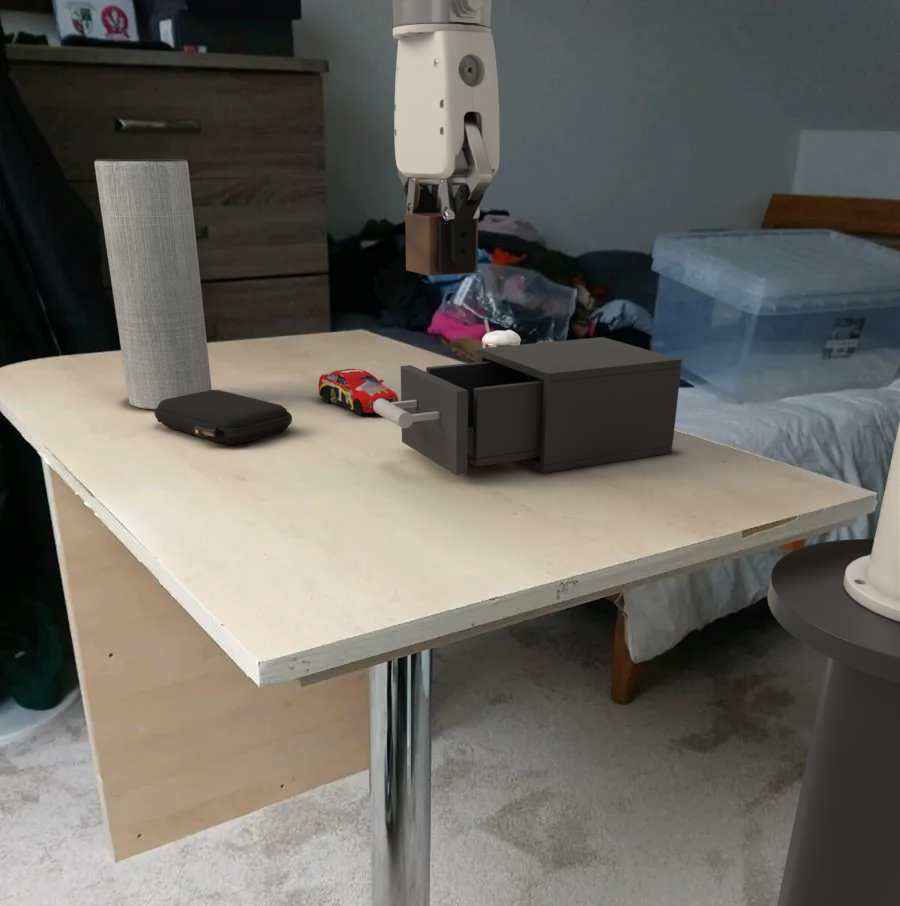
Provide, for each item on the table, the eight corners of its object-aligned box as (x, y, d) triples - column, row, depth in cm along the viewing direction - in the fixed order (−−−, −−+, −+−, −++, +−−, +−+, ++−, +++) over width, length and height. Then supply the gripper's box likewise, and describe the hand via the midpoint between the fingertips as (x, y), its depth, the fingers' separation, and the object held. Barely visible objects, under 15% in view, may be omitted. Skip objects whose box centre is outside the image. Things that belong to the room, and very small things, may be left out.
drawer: (413, 482, 86) (412, 396, 82) (362, 447, 96) (359, 369, 92) (586, 455, 93) (591, 376, 90) (522, 426, 103) (525, 353, 100)
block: (477, 273, 78) (478, 214, 76) (429, 276, 76) (429, 216, 74) (452, 267, 82) (452, 212, 80) (405, 270, 80) (404, 213, 78)
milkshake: (498, 400, 118) (500, 317, 113) (525, 408, 114) (529, 323, 110) (469, 405, 115) (470, 321, 111) (496, 414, 111) (499, 327, 107)
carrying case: (139, 428, 105) (222, 453, 96) (136, 401, 104) (219, 424, 95) (217, 410, 112) (301, 432, 104) (214, 384, 111) (299, 404, 102)
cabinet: (543, 473, 91) (548, 373, 87) (477, 438, 102) (478, 348, 98) (671, 453, 97) (682, 359, 93) (596, 422, 108) (602, 337, 104)
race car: (406, 414, 111) (405, 380, 110) (366, 420, 109) (365, 386, 107) (351, 391, 121) (350, 360, 119) (313, 397, 118) (311, 365, 117)
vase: (223, 404, 115) (198, 160, 103) (139, 414, 110) (103, 160, 99) (199, 388, 123) (174, 159, 111) (121, 397, 118) (85, 159, 106)
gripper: (544, 5, 66) (533, 278, 74) (435, 29, 80) (435, 258, 87) (450, -3, 63) (449, 283, 71) (353, 24, 76) (361, 262, 84)
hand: (441, 267), depth 79 cm, fingers closed on block, 4 cm apart
